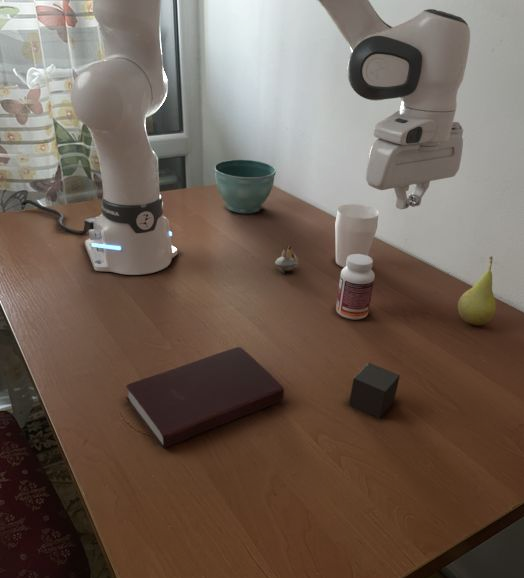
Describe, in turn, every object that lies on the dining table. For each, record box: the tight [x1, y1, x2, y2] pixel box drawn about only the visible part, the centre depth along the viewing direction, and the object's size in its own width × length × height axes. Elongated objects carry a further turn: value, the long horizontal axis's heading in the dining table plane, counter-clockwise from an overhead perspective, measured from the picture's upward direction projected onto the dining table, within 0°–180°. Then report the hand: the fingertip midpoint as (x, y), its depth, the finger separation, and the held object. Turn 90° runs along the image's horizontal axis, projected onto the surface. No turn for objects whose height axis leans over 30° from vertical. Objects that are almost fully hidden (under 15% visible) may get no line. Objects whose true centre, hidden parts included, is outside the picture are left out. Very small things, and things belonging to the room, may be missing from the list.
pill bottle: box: [335, 254, 375, 321], centre depth 101 cm, size 6×6×11 cm
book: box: [125, 346, 285, 448], centre depth 79 cm, size 12×19×3 cm, turn 124°
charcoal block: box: [348, 362, 401, 419], centre depth 80 cm, size 5×5×5 cm
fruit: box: [457, 255, 497, 326], centre depth 100 cm, size 7×8×12 cm
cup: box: [334, 203, 380, 268], centre depth 120 cm, size 9×9×12 cm
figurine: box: [274, 245, 299, 274], centre depth 116 cm, size 5×4×6 cm
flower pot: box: [213, 159, 277, 214], centre depth 146 cm, size 16×16×11 cm
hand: (407, 206), depth 98 cm, fingers closed
